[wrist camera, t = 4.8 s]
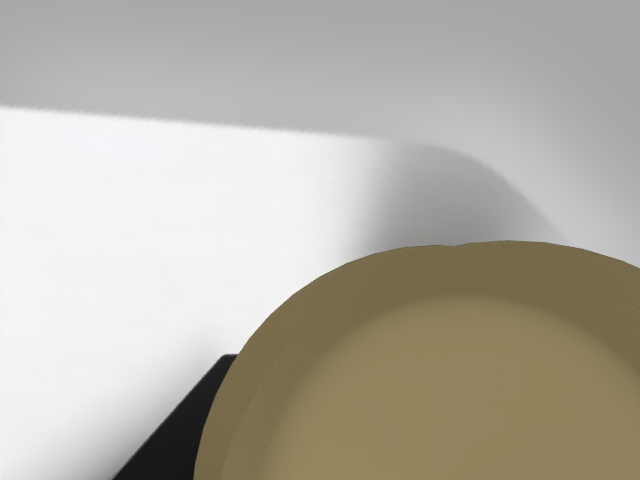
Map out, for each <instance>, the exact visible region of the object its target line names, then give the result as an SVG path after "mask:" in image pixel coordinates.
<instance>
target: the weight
mask: <svg viewBox="0 0 640 480" xmlns="http://www.w3.org/2000/svg"><path fill="white" fill-rule="evenodd" d="M193 480H640V268H638V267H635V266H633V265H631V264H628V263H626V262H624V261H621V260H618V259H614V258H611V257H608V256H605V255H601V254H598V253H595V252H591V251H588V250H585V249H580V248H574V247H568V246H563V245H557V244H551V243H546V242H527V241H508V240H507V241H494V242H480V243H469V244H464V245H459V246H440V245H431V246H417V247H404V248H399V249H395V250H390V251H385V252H380V253H375V254H372V255H369V256H366V257H363V258H361V259H358V260H355V261H352V262H349V263H346V264H344V265H342V266H340V267H338V268H336V269H334V270H332V271H330V272H328V273H326V274H324V275H322V276H320V277H319V278H317V279H316V280H314V281H313V282H311V283H310V284H308V285H307V286H305V287H304V288H302V289H301V290H299V291H298V292H296V293H295V294H293V295H292V296H291V297H290V298H289V299H288V300H287V301H285V302H284V303H283V304H282V305H281V306H280V307H278V308H277V309H276V310H275V311H274V312H273V313H272V314H271V315H270V316H269V317H268V318H267V319H266V320H265V321H264V322H263V324H262V325H261V326H260V327H259V328H258V329H257V330H256V331H255V333H254V334H253V335H252V336H251V337H250V338H249V340H248V341H247V343H246V344H245V346H244V347H243V349H242V350H241V351H240V353H239V354H238V356H237V357H236V359H235V360H234V362H233V363H232V365H231V366H230V368H229V370H228V372H227V374H226V376H225V378H224V380H223V382H222V384H221V386H220V388H219V390H218V392H217V394H216V396H215V398H214V401H213V404H212V406H211V409H210V412H209V415H208V417H207V420H206V423H205V425H204V428H203V433H202V437H201V441H200V445H199V449H198V454H197V458H196V462H195V470H194V479H193Z"/></svg>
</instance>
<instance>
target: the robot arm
mask: <svg viewBox="0 0 640 480" xmlns="http://www.w3.org/2000/svg"><path fill="white" fill-rule="evenodd" d="M237 356H238V354H225V355H223V356H221V357H220V358H219V360H218V361H217V362H216V363H215V364H214V365H213V366H212V367H211V369H210V370H209V371H208V372H207V373H206V374H205V375H204V376H203V377H202V379H201V380H200V381H199V382H198V383H197V384H196V385H195V386H194V388H193V389H192V390H191V391H190V392H189V393H188V394H187V395H186V396H185V398H184V399H183V400H182V401H181V402H180V403H179V404H178V405H177V406H176V408H175V409H174V410H173V411H172V412H171V413H170V414H169V415H168V417H167V418H166V419H165V420H164V421H163V422H162V423H161V424H160V425H159V427H158V428H157V429H156V430H155V431H154V432H153V433H152V434H151V436H150V437H149V438H148V439H147V440H146V441H145V442H144V443H143V444H142V446H141V447H140V448H139V449H138V450H137V451H136V452H135V453H134V455H133V456H132V457H131V458H130V459H129V460H128V461H127V462H126V463H125V465H124V466H123V467H122V468H121V469H120V470H119V471H118V472H117V473H116V475H115V476H114V477H113V478H112V479H111V480H193V479H194V470H195V462H196V458H197V454H198V449H199V445H200V441H201V437H202V433H203V428H204V425H205V423H206V420H207V417H208V415H209V412H210V409H211V406H212V404H213V401H214V398H215V396H216V394H217V392H218V390H219V388H220V386H221V384H222V382H223V380H224V378H225V376H226V374H227V372H228V370H229V368H230V366H231V365H232V363H233V362H234V360H235V359H236V357H237Z"/></svg>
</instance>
